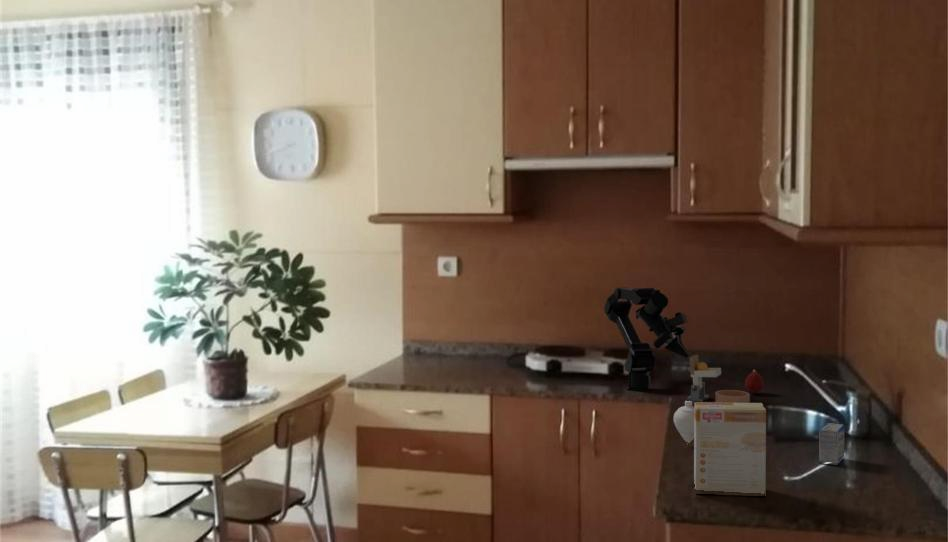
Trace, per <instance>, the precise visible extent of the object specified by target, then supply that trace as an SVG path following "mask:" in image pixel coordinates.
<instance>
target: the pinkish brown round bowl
mask: <svg viewBox="0 0 948 542" xmlns="http://www.w3.org/2000/svg"><path fill="white" fill-rule="evenodd" d="M714 402H726V403H751V394H750V392H747V391H743V390H737V389H722V390H716V391H715V392H714Z"/></svg>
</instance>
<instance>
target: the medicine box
mask: <svg viewBox="0 0 948 542" xmlns="http://www.w3.org/2000/svg"><path fill="white" fill-rule="evenodd" d="M818 438H819V440H818V442H819V444H818V445H819V447H818V450H819V451H818V453H819V454H818V455H819V456H818V461H823V462H833V463H838V462H839V461H840V460H841V458H842V457H843V456H844V457H845V425H844V424H841V423H833V422H831V423H828V422H827V423H826V424H824V426H823V427H822V428H821V429H819V437H818Z"/></svg>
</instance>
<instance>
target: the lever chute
mask: <svg viewBox="0 0 948 542" xmlns="http://www.w3.org/2000/svg"><path fill="white" fill-rule="evenodd" d="M688 359H689V368H690V369H689V370H690V378H692V385H697V386H699V389H700V388H702V387H703V386H702V382H703V378H717V377H719V376H721V375H722V368H721V367H708V369H707V370H704V371H697V369H696V366H697V364H698V363H700V361H699V360H700V359H699V354H693V355H690V357H688Z"/></svg>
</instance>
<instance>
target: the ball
mask: <svg viewBox="0 0 948 542" xmlns="http://www.w3.org/2000/svg"><path fill="white" fill-rule="evenodd" d="M708 368H709V367H708V365H707V363H706V362H703V361H699V363H698V364H697V366H696V369H697V371H704V370H707V369H708Z"/></svg>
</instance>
